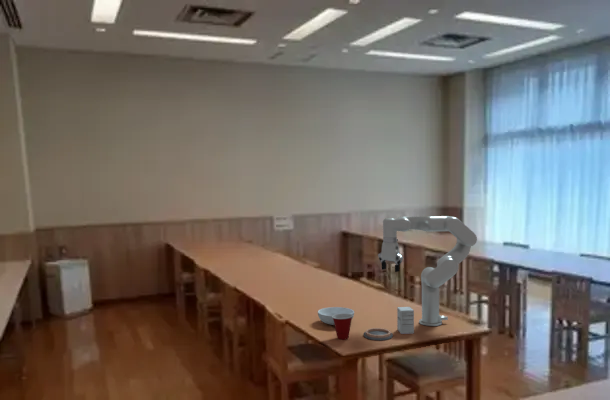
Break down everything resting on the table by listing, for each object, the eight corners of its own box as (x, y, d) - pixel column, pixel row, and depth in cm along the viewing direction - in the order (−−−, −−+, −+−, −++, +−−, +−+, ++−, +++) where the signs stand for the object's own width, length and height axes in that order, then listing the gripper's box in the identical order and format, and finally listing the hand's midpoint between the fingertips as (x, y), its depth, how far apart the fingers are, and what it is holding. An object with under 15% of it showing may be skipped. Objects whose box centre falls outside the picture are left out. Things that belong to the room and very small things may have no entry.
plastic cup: (341, 333, 274) (341, 311, 274) (357, 337, 266) (357, 315, 266) (327, 338, 267) (327, 315, 266) (343, 342, 259) (343, 319, 258)
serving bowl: (357, 319, 301) (357, 307, 300) (350, 329, 281) (350, 317, 280) (322, 317, 306) (322, 305, 306) (313, 327, 286) (313, 314, 286)
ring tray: (389, 331, 277) (389, 327, 277) (395, 340, 262) (395, 335, 262) (361, 331, 276) (361, 327, 276) (366, 340, 261) (366, 336, 261)
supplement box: (397, 329, 279) (396, 306, 279) (410, 329, 280) (410, 306, 279) (400, 334, 272) (400, 310, 271) (414, 333, 272) (414, 310, 272)
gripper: (406, 240, 285) (406, 271, 285) (382, 238, 298) (383, 267, 299) (397, 242, 280) (398, 273, 281) (373, 239, 293) (374, 269, 294)
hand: (390, 270), depth 290 cm, fingers open, 9 cm apart
